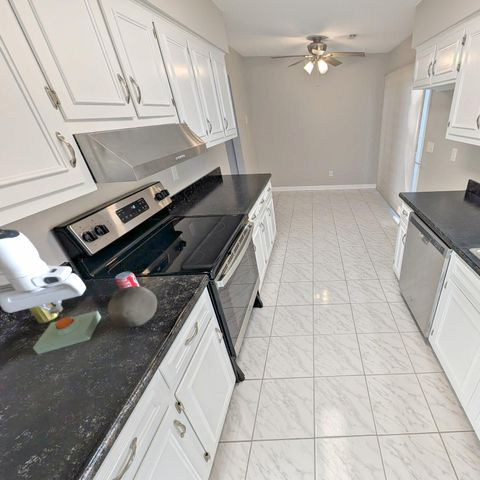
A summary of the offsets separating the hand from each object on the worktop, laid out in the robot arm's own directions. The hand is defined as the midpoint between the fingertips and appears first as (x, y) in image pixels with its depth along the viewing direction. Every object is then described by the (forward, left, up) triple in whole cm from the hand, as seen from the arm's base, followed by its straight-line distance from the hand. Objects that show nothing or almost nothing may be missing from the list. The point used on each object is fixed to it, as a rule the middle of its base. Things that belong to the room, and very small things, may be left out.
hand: (57, 311), depth 86 cm
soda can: (+17, +13, -11) cm, 24 cm away
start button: (0, 0, -6) cm, 6 cm away
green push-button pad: (0, 0, -11) cm, 11 cm away
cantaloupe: (+23, -5, -11) cm, 26 cm away
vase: (-13, +15, -11) cm, 23 cm away
